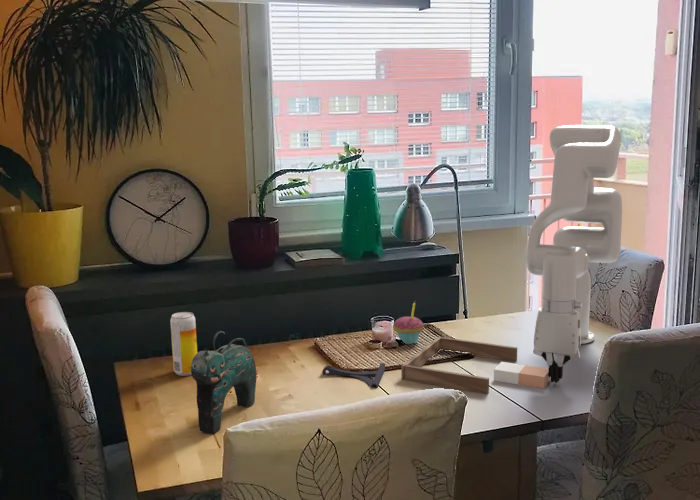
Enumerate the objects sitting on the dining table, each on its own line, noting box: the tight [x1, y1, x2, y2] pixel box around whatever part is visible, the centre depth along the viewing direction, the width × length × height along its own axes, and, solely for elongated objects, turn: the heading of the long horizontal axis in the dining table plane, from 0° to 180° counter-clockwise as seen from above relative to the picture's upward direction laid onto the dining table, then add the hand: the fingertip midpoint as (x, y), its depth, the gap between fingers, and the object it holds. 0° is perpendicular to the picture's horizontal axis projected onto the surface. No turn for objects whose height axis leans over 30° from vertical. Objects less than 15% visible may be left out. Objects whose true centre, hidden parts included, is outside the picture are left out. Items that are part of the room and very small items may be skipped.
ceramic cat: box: [191, 330, 258, 435], centre depth 160 cm, size 20×6×20 cm, turn 156°
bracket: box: [321, 362, 386, 389], centre depth 185 cm, size 14×15×3 cm
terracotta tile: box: [518, 364, 551, 389], centre depth 179 cm, size 6×6×3 cm
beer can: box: [169, 311, 198, 377], centre depth 188 cm, size 6×6×15 cm
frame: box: [401, 336, 518, 395], centre depth 188 cm, size 25×22×4 cm
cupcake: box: [392, 300, 425, 345], centre depth 210 cm, size 9×8×12 cm
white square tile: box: [493, 361, 527, 385], centre depth 182 cm, size 6×6×3 cm
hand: (555, 380), depth 177 cm, fingers closed
